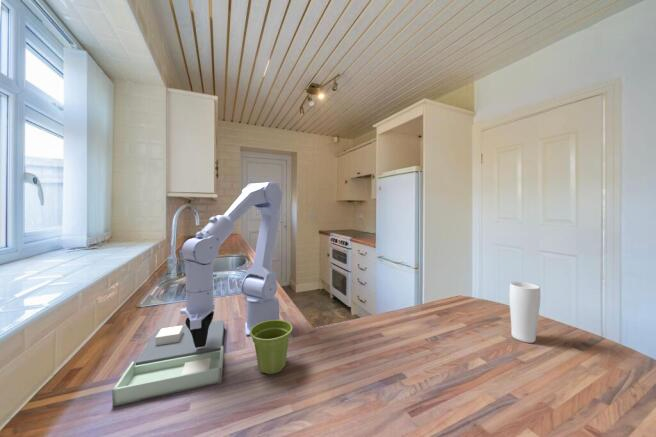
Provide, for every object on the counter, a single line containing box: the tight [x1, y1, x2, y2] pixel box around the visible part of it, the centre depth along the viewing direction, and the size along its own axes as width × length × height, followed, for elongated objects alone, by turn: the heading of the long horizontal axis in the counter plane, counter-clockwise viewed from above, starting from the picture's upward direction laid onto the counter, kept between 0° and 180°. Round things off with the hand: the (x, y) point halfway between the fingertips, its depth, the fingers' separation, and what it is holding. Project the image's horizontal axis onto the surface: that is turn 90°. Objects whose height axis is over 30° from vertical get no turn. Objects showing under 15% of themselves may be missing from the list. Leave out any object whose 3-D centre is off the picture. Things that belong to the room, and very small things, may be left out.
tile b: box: [155, 324, 184, 345], centre depth 63 cm, size 5×5×2 cm
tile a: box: [181, 358, 211, 375], centre depth 52 cm, size 5×5×2 cm
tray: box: [111, 345, 224, 407], centre depth 52 cm, size 18×9×3 cm, turn 110°
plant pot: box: [249, 319, 293, 375], centre depth 56 cm, size 9×9×9 cm
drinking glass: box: [508, 281, 541, 344], centre depth 68 cm, size 7×7×15 cm
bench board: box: [135, 319, 225, 366], centre depth 64 cm, size 17×16×2 cm
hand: (200, 345), depth 58 cm, fingers closed
